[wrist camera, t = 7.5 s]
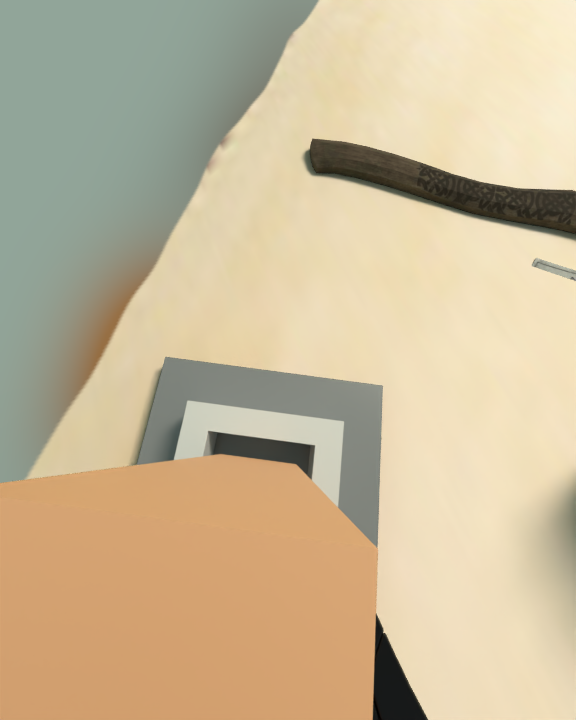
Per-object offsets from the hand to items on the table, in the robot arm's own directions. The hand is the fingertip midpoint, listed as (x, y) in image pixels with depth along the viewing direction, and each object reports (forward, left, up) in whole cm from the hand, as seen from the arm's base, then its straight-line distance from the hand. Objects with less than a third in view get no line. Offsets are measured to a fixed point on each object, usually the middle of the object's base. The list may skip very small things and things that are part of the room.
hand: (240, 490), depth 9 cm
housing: (-1, -1, -11) cm, 11 cm away
